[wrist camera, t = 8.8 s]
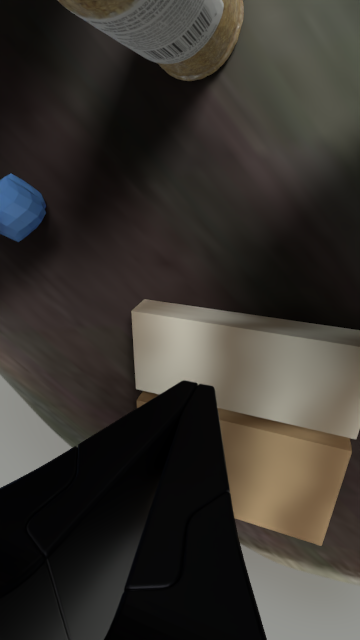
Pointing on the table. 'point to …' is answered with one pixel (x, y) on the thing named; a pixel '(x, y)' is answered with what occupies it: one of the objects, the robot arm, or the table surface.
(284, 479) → the oak plank
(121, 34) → the sprinkles bottle
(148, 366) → the ash board
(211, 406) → the robot arm
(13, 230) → the grapes
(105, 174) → the table surface
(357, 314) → the table surface
